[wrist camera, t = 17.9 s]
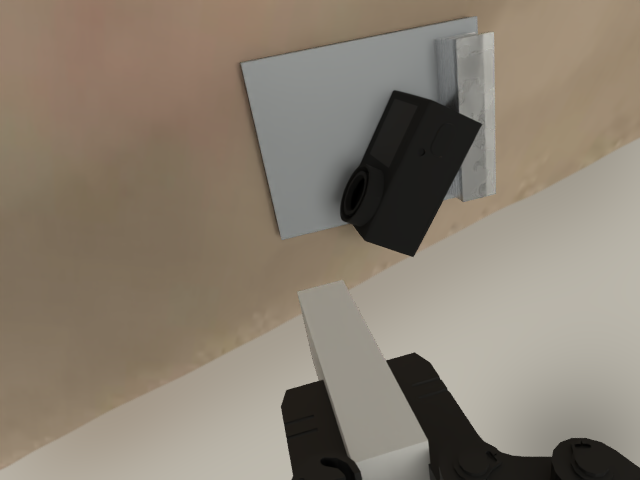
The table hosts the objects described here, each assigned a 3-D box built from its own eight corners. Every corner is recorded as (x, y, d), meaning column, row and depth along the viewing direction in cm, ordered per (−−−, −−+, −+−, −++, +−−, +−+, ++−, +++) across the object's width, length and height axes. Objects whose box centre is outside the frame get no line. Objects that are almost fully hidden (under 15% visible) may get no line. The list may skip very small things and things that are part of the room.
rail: (443, 189, 40) (463, 201, 37) (434, 39, 35) (456, 39, 32) (475, 181, 40) (498, 193, 37) (471, 31, 35) (496, 31, 32)
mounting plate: (279, 233, 40) (281, 240, 39) (239, 62, 34) (240, 63, 33) (473, 186, 42) (481, 190, 41) (467, 17, 36) (477, 16, 35)
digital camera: (380, 81, 35) (416, 90, 29) (439, 108, 37) (484, 122, 31) (326, 203, 38) (348, 236, 32) (383, 223, 40) (414, 258, 34)
